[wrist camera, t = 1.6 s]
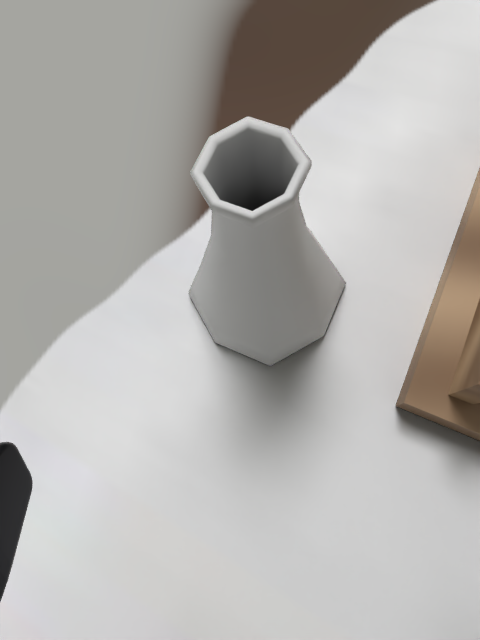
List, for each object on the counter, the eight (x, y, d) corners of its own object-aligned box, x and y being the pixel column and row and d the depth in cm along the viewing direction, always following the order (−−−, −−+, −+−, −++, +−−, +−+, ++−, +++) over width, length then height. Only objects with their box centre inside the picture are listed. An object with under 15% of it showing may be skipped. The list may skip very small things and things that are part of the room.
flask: (372, 283, 21) (440, 148, 12) (271, 394, 20) (258, 344, 11) (261, 198, 23) (243, 24, 14) (164, 297, 22) (72, 182, 13)
